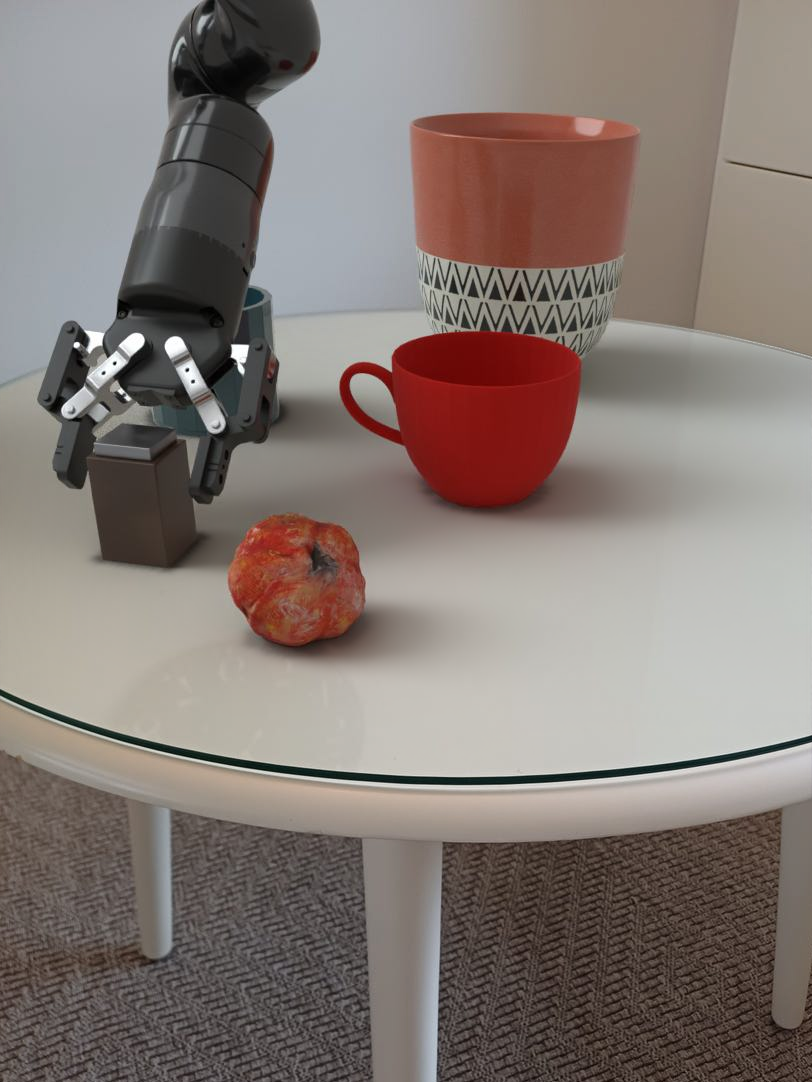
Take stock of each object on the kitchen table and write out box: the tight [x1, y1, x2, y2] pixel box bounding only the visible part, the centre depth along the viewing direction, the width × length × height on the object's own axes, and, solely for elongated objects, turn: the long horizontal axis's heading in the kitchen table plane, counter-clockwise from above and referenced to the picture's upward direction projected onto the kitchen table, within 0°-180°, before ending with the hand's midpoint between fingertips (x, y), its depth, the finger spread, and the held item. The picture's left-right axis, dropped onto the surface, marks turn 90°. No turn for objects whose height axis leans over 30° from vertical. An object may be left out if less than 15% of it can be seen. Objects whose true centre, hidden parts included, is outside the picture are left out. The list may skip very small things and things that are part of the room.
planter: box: [408, 111, 643, 361], centre depth 100 cm, size 20×20×21 cm
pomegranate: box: [227, 511, 366, 647], centre depth 62 cm, size 7×7×10 cm
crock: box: [150, 284, 280, 437], centre depth 91 cm, size 10×10×10 cm
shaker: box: [86, 422, 198, 569], centre depth 70 cm, size 4×4×8 cm
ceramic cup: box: [338, 331, 582, 509], centre depth 79 cm, size 13×17×10 cm
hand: (133, 492), depth 68 cm, fingers open, 8 cm apart
